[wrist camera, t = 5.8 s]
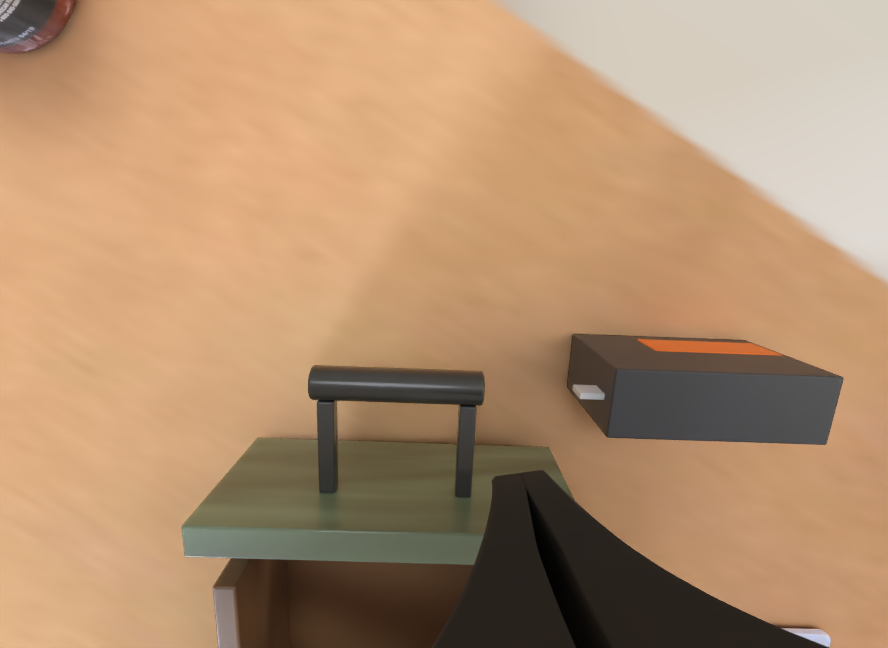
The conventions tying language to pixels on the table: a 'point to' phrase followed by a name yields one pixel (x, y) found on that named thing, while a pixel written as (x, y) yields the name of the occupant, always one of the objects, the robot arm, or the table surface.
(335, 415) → the drawer
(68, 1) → the supplement bottle
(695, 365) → the black block with tab
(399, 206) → the table surface
